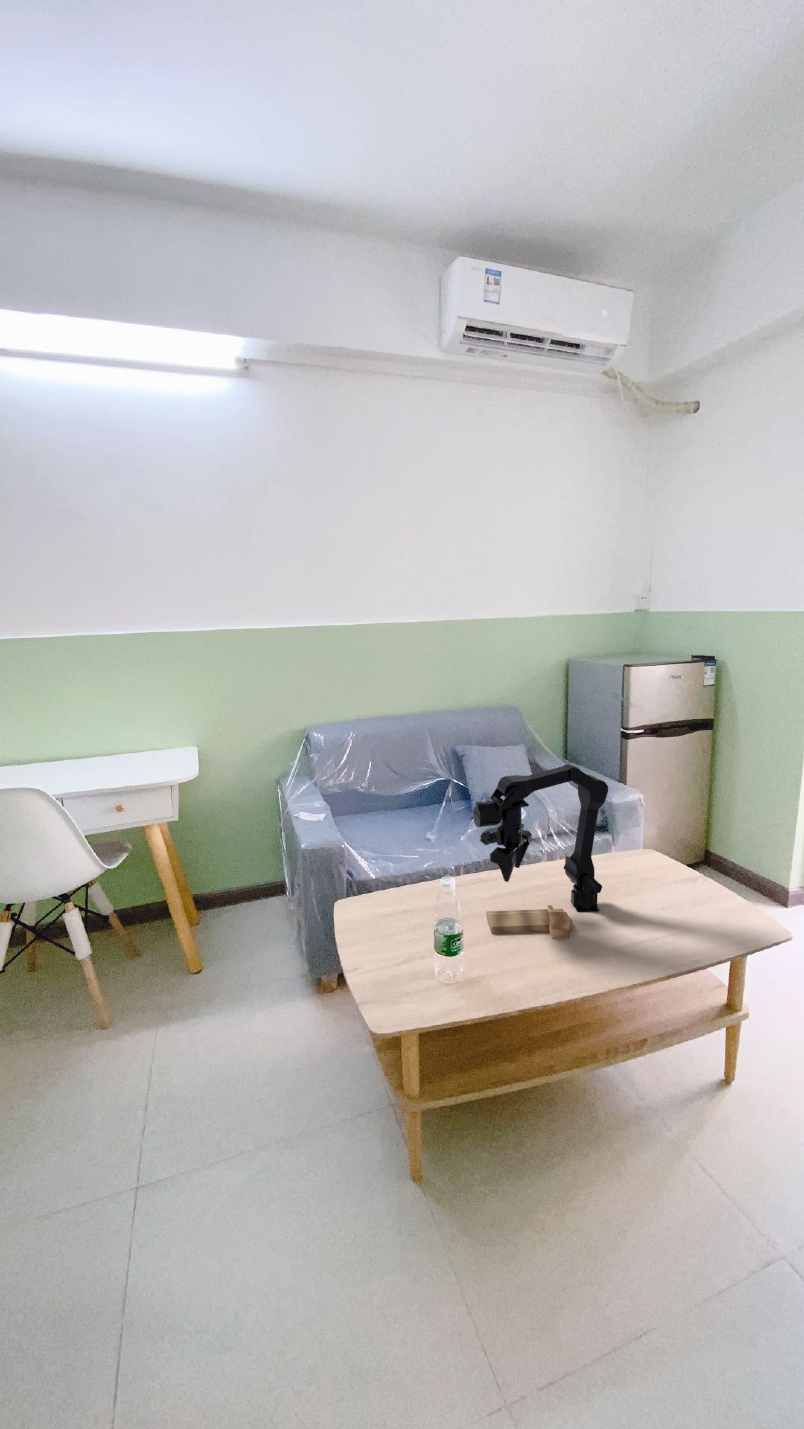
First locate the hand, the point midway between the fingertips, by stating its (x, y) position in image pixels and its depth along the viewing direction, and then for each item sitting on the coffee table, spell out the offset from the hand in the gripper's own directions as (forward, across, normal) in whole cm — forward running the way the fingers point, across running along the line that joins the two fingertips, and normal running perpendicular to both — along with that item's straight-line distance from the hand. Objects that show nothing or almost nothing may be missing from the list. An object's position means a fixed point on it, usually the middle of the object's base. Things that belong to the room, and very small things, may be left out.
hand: (512, 874), depth 153 cm
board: (+13, +2, +5) cm, 14 cm away
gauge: (+13, 0, +12) cm, 18 cm away
